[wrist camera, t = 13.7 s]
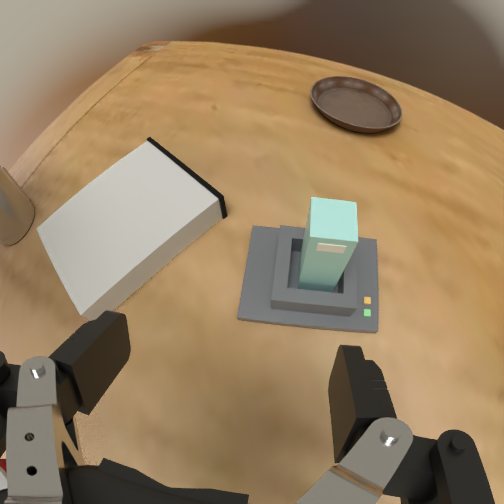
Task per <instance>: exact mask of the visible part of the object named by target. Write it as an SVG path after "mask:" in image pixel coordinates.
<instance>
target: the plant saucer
mask: <svg viewBox="0 0 504 504" xmlns="http://www.w3.org/2000/svg"><path fill="white" fill-rule="evenodd" d="M310 94H311V98H312V100H313V102H314V104H315V105H316V107H317V108H318V109H319V111H320V112H321V113H322V114H323V115H324V116H325V117H326V118H327V119H329V120H330V121H332V122H333V123H335V124H337V125H339V126H341V127H343V128H346V129H349V130H353V131H357V132H363V133H374V132H380V131H383V130H386V129H388V128H390V127H392V126H394V125H396V124H397V123H398V122H399V121H400V120H401V118H402V110H401V107H400V105H399V103H398V102H397V100H396V99H395V98H394V97H393V96H392V95H391V94H389V93H388V92H387V91H385V90H384V89H382V88H381V87H379V86H377V85H375V84H373V83H370V82H368V81H365V80H361V79H357V78H352V77H345V76H335V77H328V78H324V79H321V80H319V81H317V82H316V83H315V84H314V85H313V86H312V88H311V91H310Z"/></svg>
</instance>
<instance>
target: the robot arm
mask: <svg viewBox="0 0 504 504" xmlns="http://www.w3.org/2000/svg"><path fill="white" fill-rule="evenodd" d="M34 212H35V211H34V207H33V205H32V204H31V202H30V198H29V197H28V196H27V195H26V193H25V192H24V191H23V190H22V189H21V187H20V186H19V185H18V184H17V182H16V181H15V180H14V179H13V178H12V176H11V175H10V174H9V173H8V171H7V170H6V169H5V168H4V167H1V166H0V242H1V243H2V244H4V245H7V246H9V245H13V244H15V243H16V242H18V241H19V240H20V239H21V238H22V237H23V236H24V235H25V234H26V233H27V231H28V230H29V228H30V226H31V224H32V222H33V219H34ZM130 350H131V347H130V340H129V333H128V326H127V319H126V316H125V314H123V313H118V312H113V311H109V310H106V311H104V312H103V313H102V314H101V315H100V316H99V317H98V318H97V319H96V320H92V321H89V322H87V323H85V324H83V325H82V326H81V327H80V328H79V329H78V330H77V331H76V332H75V333H73V334H72V335H71V336H70V337H69V339H67V340H66V341H65V342H64V343H63V344H62V345H61V346H60V347H59V348H58V349H57V350H56V351H54V352H53V353H52V354H51V355H50V356H49V357H48V358H47V357H43V356H38V357H33V358H30V359H28V360H26V361H25V362H24V363H23V364H22V365H21V366H20V365H14V364H8V363H7V360H6V358H5V355H4V353H3V352H1V351H0V457H1V456H2V455H3V453H4V452H5V450H6V468H7V486H8V488H6V489H2V490H0V504H248V497H249V495H247V494H240V493H233V492H227V491H221V490H215V489H191V488H170V487H167V486H165V485H163V484H161V483H159V482H157V481H155V480H153V479H151V478H150V477H148V476H146V475H144V474H143V473H141V472H139V471H138V470H136V469H133V468H130V467H127V466H124V465H122V464H119V463H116V462H113V461H111V460H108V459H105V458H103V460H102V462H101V463H100V465H99V466H96V465H85V462H84V459H83V455H82V451H81V446H80V440H79V435H78V429H77V423H76V419H75V416H74V415H75V414H76V412H77V411H79V412H82V413H84V414H87V415H89V414H90V413H91V411H92V410H93V408H94V407H95V406H96V404H97V403H98V401H99V400H100V399H101V397H102V396H103V394H104V393H105V392H106V390H107V389H108V387H109V386H110V385H111V383H112V382H113V380H114V379H115V378H116V376H117V375H118V373H119V372H120V371H121V369H122V368H123V367H124V365H125V364H126V362H127V361H128V359H129V356H130ZM328 394H329V404H330V413H331V424H332V435H333V446H334V459H335V463H339V464H338V465H337V466H333V467H331V468H330V469H329V470H328V471H327V472H326V473H325V474H324V475H323V476H322V477H321V478H320V479H319V481H318V482H317V483H316V484H315V485H314V486H313V487H312V488H311V489H310V490H309V491H308V492H307V493H306V494H304V495H303V496H302V497H301V498H300V499H299V500H298V501H297V502H296V503H295V504H376V502H377V501H378V500H379V498H380V497H381V495H382V494H384V495H390V496H395V497H400V498H401V504H495V502H494V499H493V495H492V492H491V489H490V485H489V482H488V479H487V476H486V473H485V470H484V467H483V464H482V462H481V459H480V456H479V453H478V451H477V448H476V445H475V443H474V441H473V439H472V438H471V437H470V436H469V435H468V434H466V433H465V432H463V431H460V430H448V431H445V432H444V433H442V434H441V435H440V437H439V438H438V440H435V439H429V438H423V437H418V436H415V435H413V434H412V431H411V429H410V428H409V426H408V425H407V424H405V423H404V422H402V421H401V420H398V419H397V417H396V413H395V410H394V407H393V404H392V401H391V398H390V395H389V392H388V390H387V385H386V382H385V381H384V377H383V374H382V371H381V369H380V368H379V367H378V366H377V364H376V363H375V362H374V361H373V360H365V358H364V355H363V352H362V348H361V347H360V346H349V345H340V346H339V348H338V351H337V355H336V358H335V362H334V365H333V369H332V372H331V376H330V380H329V388H328Z"/></svg>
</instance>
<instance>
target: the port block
mask: <svg viewBox="0 0 504 504" xmlns="http://www.w3.org/2000/svg"><path fill="white" fill-rule="evenodd" d="M304 233H305V228H300V227H290V226H281V225H280V228H272V227H263V226H253V228H252V233H251V239H250V245H249V251H248V257H247V263H246V269H245V274H244V280H243V286H242V292H241V298H240V304H239V310H238V316H237V318H238V320H243V321H251V322H259V323H267V324H275V325H284V326H293V327H303V328H313V329H324V330H335V331H348V332H361V333H377V332H378V261H377V241H376V239H368V238H360V237H358V243H357V245H356V247H355V249H354V251H353V253H352V255H351V257H350V259H349V261H348V263H347V265H346V267H345V269H344V271H343V273H342V275H341V277H340V279H339V280H338V282H337V284H336V286H335V288H334V290H333V292H322V291H312V290H303V289H297V282H298V269H299V258H300V253H301V248H302V244H303V239H304Z"/></svg>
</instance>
